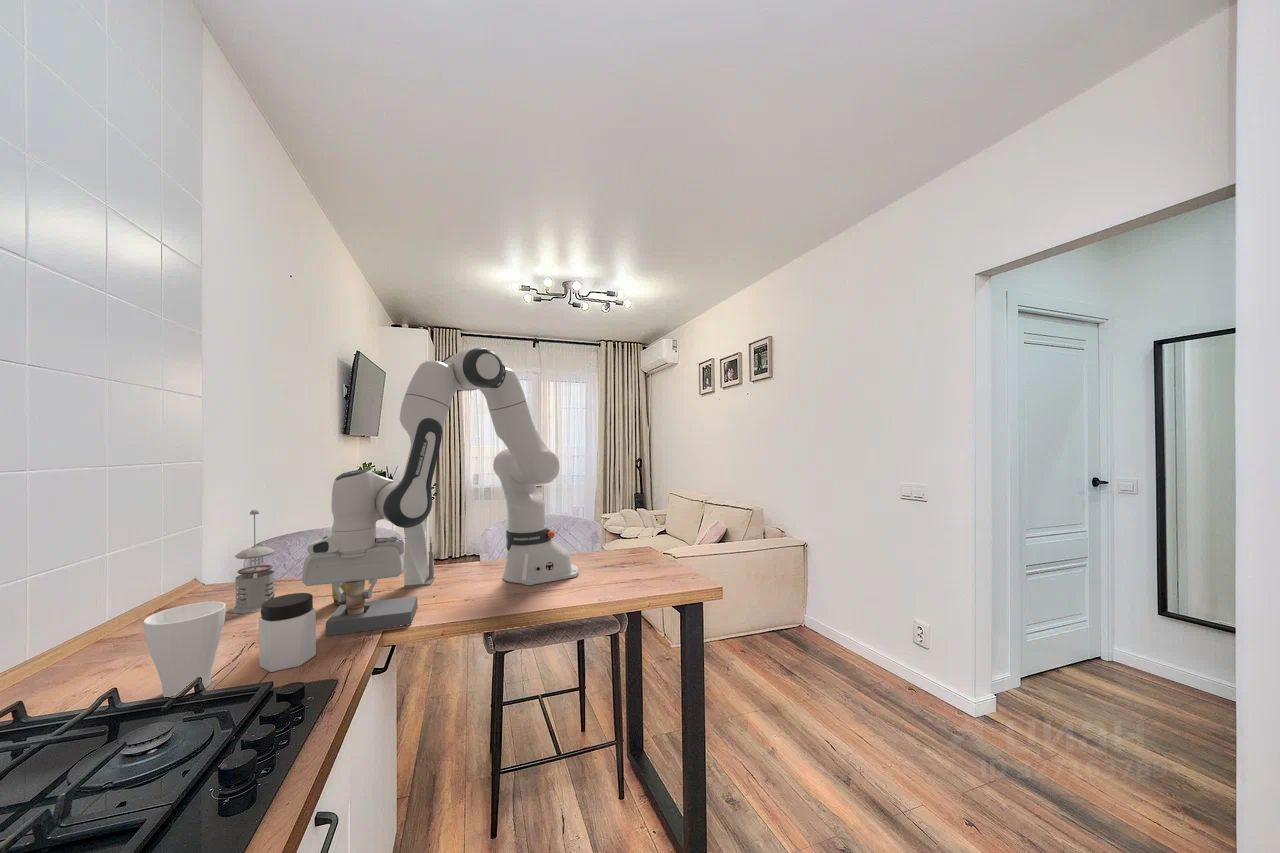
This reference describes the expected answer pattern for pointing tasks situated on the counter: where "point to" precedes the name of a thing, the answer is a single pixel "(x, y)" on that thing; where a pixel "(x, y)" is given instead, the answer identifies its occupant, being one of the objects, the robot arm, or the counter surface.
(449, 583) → the counter surface
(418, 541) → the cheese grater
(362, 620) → the board
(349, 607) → the peg
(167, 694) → the cup
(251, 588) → the french press
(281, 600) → the jar
